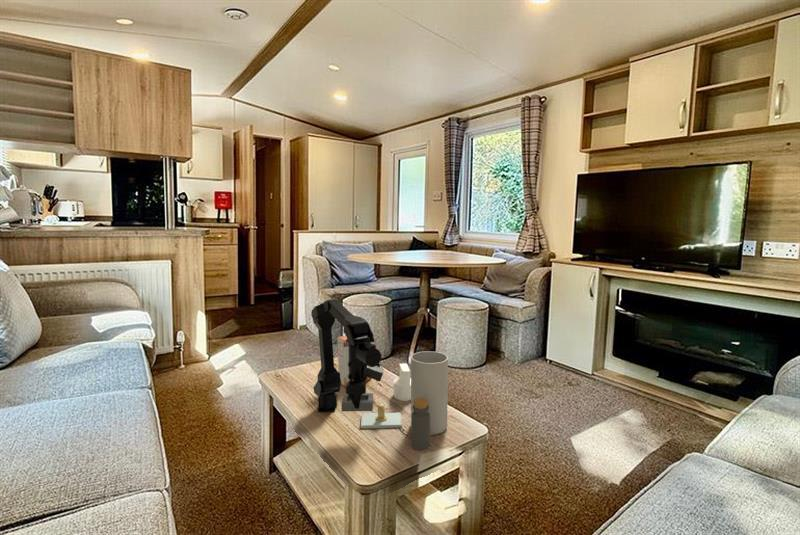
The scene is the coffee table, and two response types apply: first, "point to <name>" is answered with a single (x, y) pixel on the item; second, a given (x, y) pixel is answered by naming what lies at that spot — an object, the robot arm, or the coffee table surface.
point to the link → (364, 405)
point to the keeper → (381, 419)
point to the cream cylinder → (403, 383)
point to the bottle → (420, 425)
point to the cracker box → (344, 360)
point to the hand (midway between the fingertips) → (357, 403)
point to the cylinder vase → (431, 386)
